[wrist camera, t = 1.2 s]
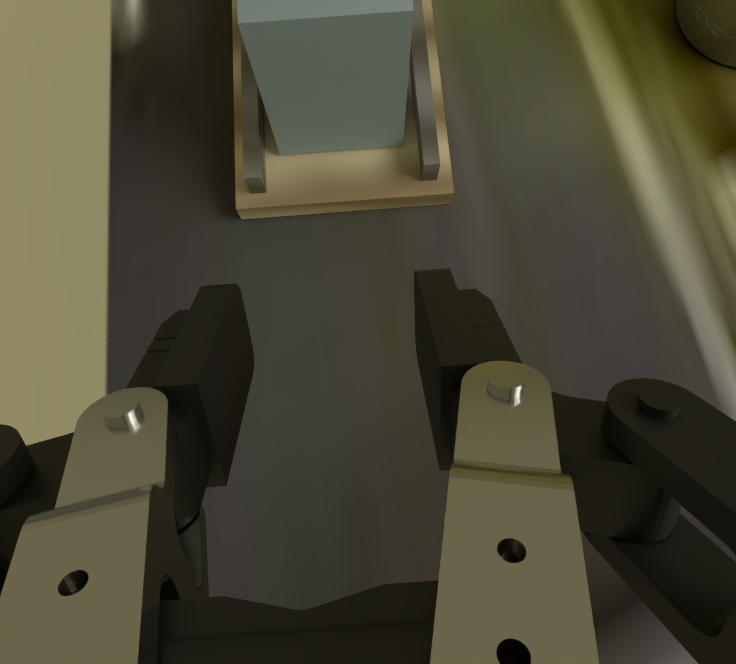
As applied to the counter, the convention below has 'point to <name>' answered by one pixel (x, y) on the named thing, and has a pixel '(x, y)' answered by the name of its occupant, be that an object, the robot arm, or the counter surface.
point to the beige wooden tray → (346, 167)
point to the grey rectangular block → (330, 70)
